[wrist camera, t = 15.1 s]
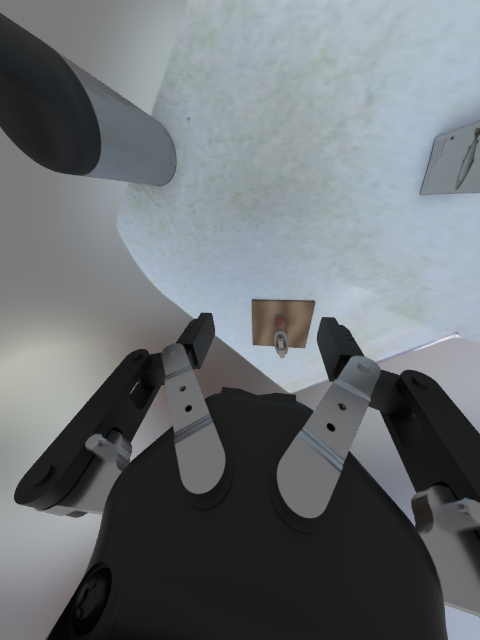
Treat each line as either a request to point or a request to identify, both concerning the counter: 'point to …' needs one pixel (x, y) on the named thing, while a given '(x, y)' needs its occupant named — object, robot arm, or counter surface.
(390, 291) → the counter surface
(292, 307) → the board
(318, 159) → the counter surface
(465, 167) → the supplement box
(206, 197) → the counter surface
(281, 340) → the lighter
